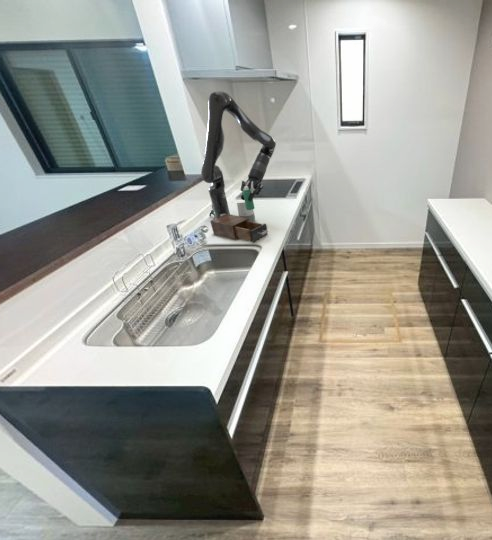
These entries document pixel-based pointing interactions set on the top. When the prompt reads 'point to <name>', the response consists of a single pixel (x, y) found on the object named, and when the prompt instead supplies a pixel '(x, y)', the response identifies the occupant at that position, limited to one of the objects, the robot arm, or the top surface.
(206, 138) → the robot arm
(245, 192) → the soap bottle
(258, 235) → the drawer
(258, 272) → the top surface
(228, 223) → the cabinet
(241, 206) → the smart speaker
